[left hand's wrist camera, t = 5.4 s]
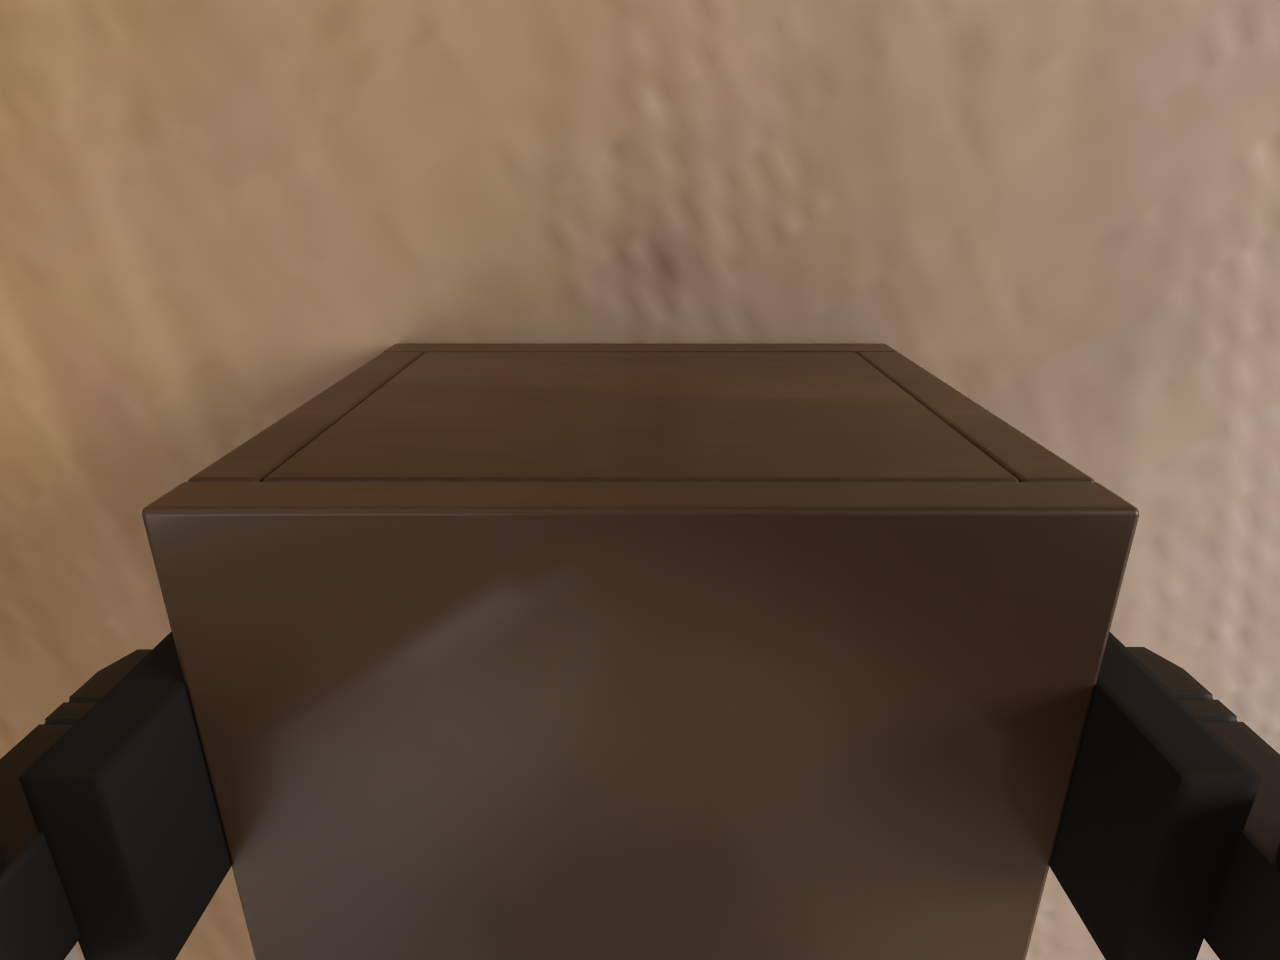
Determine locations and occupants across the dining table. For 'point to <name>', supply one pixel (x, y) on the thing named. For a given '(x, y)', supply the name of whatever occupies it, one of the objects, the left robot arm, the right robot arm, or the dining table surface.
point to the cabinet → (640, 656)
